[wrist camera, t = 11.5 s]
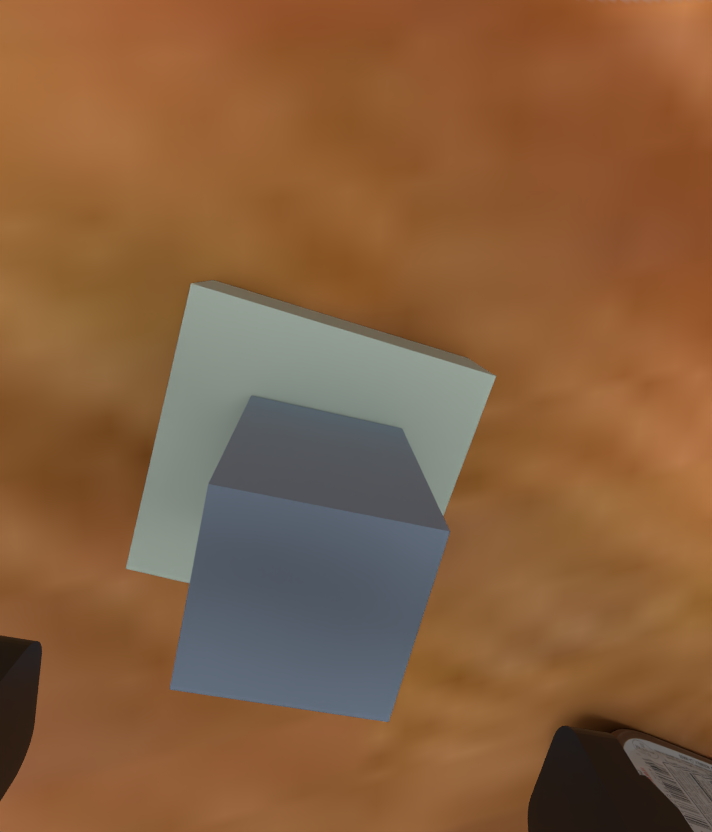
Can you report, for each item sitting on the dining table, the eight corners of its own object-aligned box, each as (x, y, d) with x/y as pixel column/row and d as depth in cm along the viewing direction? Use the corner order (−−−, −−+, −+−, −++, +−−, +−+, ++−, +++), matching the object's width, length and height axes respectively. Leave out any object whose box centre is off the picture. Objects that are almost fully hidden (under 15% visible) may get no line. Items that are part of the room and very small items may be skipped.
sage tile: (465, 356, 22) (495, 376, 18) (387, 573, 24) (399, 631, 20) (215, 280, 20) (191, 283, 17) (158, 517, 23) (125, 568, 19)
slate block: (402, 428, 18) (450, 531, 11) (365, 560, 19) (388, 722, 13) (251, 395, 17) (207, 483, 11) (223, 534, 19) (169, 689, 12)
